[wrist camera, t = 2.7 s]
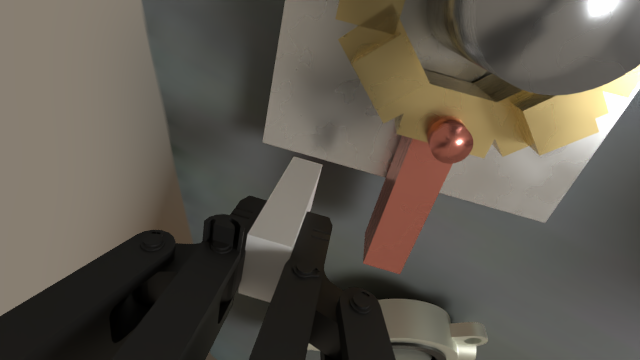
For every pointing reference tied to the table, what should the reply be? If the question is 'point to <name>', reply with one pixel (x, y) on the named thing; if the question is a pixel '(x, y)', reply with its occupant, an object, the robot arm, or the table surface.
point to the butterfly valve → (428, 332)
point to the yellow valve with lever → (446, 122)
